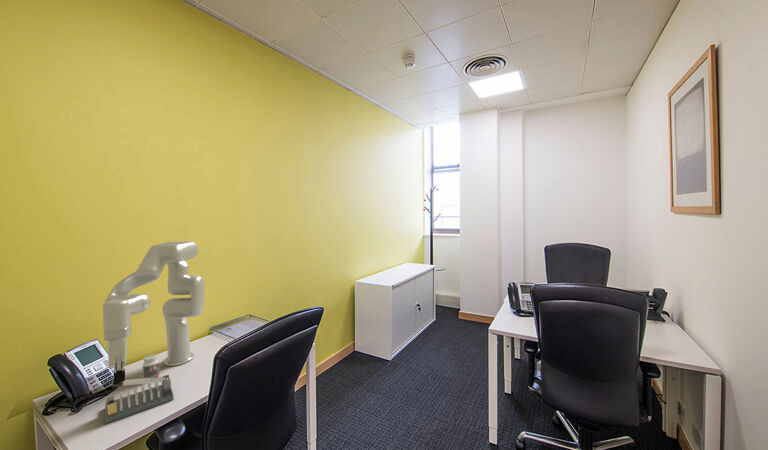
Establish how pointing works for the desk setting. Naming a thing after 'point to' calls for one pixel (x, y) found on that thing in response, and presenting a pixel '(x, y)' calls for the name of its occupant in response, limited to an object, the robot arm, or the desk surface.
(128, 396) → the grey slotted rack
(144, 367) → the pill bottle
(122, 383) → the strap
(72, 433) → the desk surface
